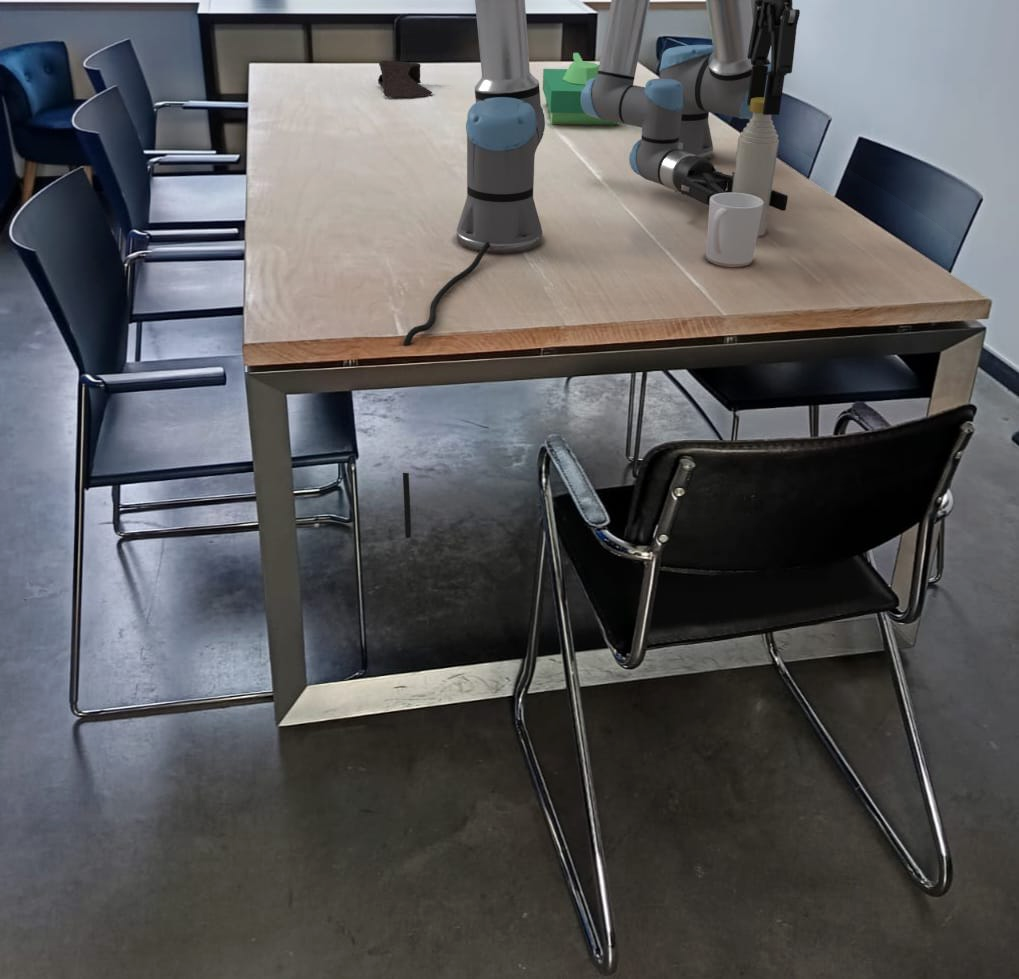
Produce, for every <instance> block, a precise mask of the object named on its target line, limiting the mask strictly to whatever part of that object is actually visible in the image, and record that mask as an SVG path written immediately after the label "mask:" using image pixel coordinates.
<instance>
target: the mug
mask: <svg viewBox="0 0 1019 979" xmlns="http://www.w3.org/2000/svg"><path fill="white" fill-rule="evenodd" d="M763 204H764V202H763V200H762V199H760V198H759V197H756V196H753V195H749V194H744V193H719V194H715V195H713V196H711V197H710V204H709V206H708V219H707V220H708V221H707V235H706V248H705V249H706V250H705V258H706V260H707V261H708V262H710V263H711V264H714V265H717V266H721V267H728V268H739V267H740V268H742V267H746V266H749V265H751V264H752V263H753V260H754V256H755V250H756V245H757V240H758V237H757V235H758V230H759V225H760V219H761V214H762V209H763Z"/></svg>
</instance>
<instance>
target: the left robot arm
mask: <svg viewBox="0 0 1019 979" xmlns="http://www.w3.org/2000/svg"><path fill="white" fill-rule="evenodd" d="M474 4H475V15H476V23H477V24H476V26H477V27H476V28H477V38H478V47H479V58H480V70H481V78H479V80H478V82H477V83H476V84H475V86H474V97H475V103H474V104H472V105H471V106H470V108H469V109H468V111H467V117H466V118H467V119H466V123H465V130H466V192H467V193H466V198H465V202H464V205H463V209H462V211H461V214H460V218H459V220H458V224H457V227H456V241H457V243H458V244H459V245H461V246H462V247H464V248H466V249H468V250H470V251H475V252H478V253H477V255H476V256H475V258H474V260H473V261H472V262H471V264H469V266H468V267H466V268H465V269H464V270H463V271H462V272H460V273H458V274H457V275H455V276H454V277H453V278H451V279H450V280H449V281H448V282H447V283H446V284H444V286H443V287H442V288H440V290H438V293H436V295H435V296H434V297H433V299H432V301H431V303H430V305H429V317H428V320H427V321H426V323H423V324H420V325H416V326H414V327H412V328H411V329H410V330H409V331H408V332H407V334H406V336H405V338H404V340H403V344H402V346H404V347H409V346H410V345H411V342H412V340H413V338H414V337H415V336H416V335H417V334H419V333H422V332H426V331H428V330H430V329H431V328H432V327H433V325H434V324H435V322H436V319H437V318H436V317H437V306H438V304H439V302H440V301H441V299H442V298H443V297H444V295H445V294H446V293H447V292H448V291H450V289H452V287H454V286H455V285H456V284H458V282H459V281H461V280H463V279H464V278H466V277H467V276H469V275H470V274H471V273H472V272H473V271H474V270H475V269H476V268H477V267H478V265H480V264H479V263H480V262H481V260H482V259H483V257H484V256H485V254H497V255H499V254H500V255H506V254H507V255H508V254H517V253H524V252H527V251H530V250H533V249H536V248H538V247H539V246H540V245H541V244H542V243H543V229H542V224H541V221H540V220H541V219H540V218H539V214H538V213H539V212H538V210H537V206H536V204H535V199H534V184H535V181H534V180H535V158H536V152H537V150H538V146H539V145H540V143H541V141H542V139H543V137H544V132H545V129H546V117H545V113H544V109H543V107H542V104H541V90H540V81H539V79H538V78H536V77H535V76H534V75H533V74H532V73H531V68H530V67H531V66H530V54H529V40H528V38H529V37H528V27H527V26H528V25H527V24H528V23H527V11H526V0H474ZM793 5H794V4H793V0H754V14H753V25H752V31H751V38H750V44H749V50H748V59H751V65H753V66H752V70H751V78H750V86H749V93H748V101H747V105H750V102H751V99H752V98H756V97H764V94H765V100H764V108H763V115H771V116H774V115H775V116H776V115H777V116H779V115H780V110H781V104H782V97H783V89H784V82H785V76H787V75H788V74H792V73H793V66H794V56H795V48H796V47H795V46H796V38H797V37H796V36H797V28H798V24H799V20H800V13H801V11H800V9H798V8H797V9H796V8H795V9H794V8H793ZM753 50H754V51H753ZM769 55H770V60H769V59H768V58H769ZM770 62H771V71H769V72H768V66H763V65H769V64H770ZM767 75H768V78H767ZM766 79H767V86H766ZM765 86H766V93H765ZM402 483H403V484H402V486H403V488H402V489H403V508H404V511H403V512H404V536H405V538H406V539H410V538H412V522H411V520H412V519H411V517H412V516H411V496H410V494H411V492H410V473H409V472H402Z"/></svg>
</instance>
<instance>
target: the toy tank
mask: <svg viewBox="0 0 1019 979" xmlns="http://www.w3.org/2000/svg"><path fill="white" fill-rule="evenodd" d="M572 59H573V61H574V62H572V63H570V64H569V66H568V68H543V69H542V72H543V73H542V92H543V95H544V97H545V104H546V106H547V107H548V109H549V113H550V123H551V125H590V126H591V125H592V126H593V125H595V126H596V125H599V126H602V125H603V126H605V125H606V126H608V125H610V126H612V125H613V126H618V125H619V122H614V121H609V120H601V119H599V118H596V117H592V116H589V115H587V114H586V113H585V112H584V111H583V109H582V106H581V92H582V89H584V88H585V84H586V82H587V81H588V80H590V79H592V78H597V74H598V70H599V64H598V63H596V62H590V61H583V58H582V57H581V54H580V53H579V52H573V53H572Z"/></svg>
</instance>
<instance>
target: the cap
mask: <svg viewBox="0 0 1019 979" xmlns="http://www.w3.org/2000/svg"><path fill="white" fill-rule="evenodd" d="M764 100H765V97H756V98H752V99H751V102H750V108H749V110H750V111H751V112H754V113H760V114H763V108H764Z"/></svg>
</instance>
